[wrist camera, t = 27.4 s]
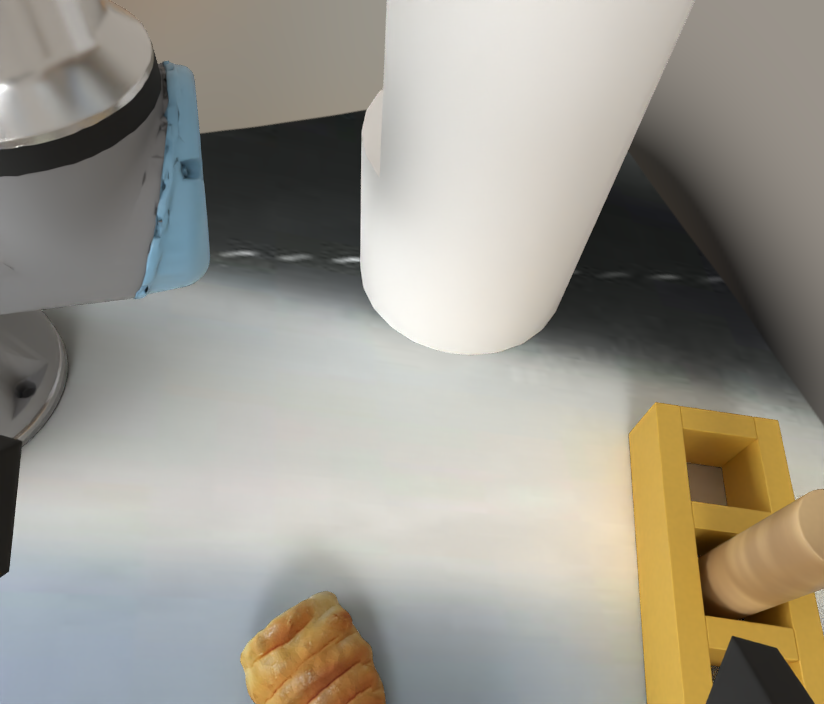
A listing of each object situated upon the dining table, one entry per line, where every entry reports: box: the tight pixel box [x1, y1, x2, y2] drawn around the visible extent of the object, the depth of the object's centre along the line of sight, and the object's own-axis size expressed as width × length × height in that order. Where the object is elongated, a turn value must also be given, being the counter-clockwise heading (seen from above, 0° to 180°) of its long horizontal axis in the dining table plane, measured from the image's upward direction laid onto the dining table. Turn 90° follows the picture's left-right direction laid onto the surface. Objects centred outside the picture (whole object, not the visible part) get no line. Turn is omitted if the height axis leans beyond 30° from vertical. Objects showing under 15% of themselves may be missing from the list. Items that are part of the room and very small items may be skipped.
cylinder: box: [360, 0, 695, 355], centre depth 43 cm, size 17×17×28 cm
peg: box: [698, 489, 824, 620], centre depth 35 cm, size 4×4×14 cm
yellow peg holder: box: [629, 402, 824, 704], centre depth 39 cm, size 8×22×5 cm, turn 173°
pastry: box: [240, 591, 386, 704], centre depth 35 cm, size 9×7×4 cm
